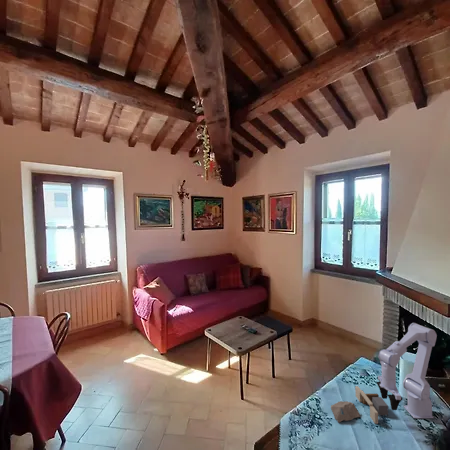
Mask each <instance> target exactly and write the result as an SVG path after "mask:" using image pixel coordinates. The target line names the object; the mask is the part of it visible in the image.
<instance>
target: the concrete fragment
mask: <svg viewBox="0 0 450 450" xmlns="http://www.w3.org/2000/svg"><path fill="white" fill-rule="evenodd" d="M330 409H331V412H332V414H333V418H334V420H336V421H337V423H338V424H339V423H341V422H342V421H347V422H348V421H352V420H353V419H355V418H360V417H361V413H360V411H359V410H358V409H357V407H356V405H355V404H354V403H353V402H351V401H338V402H335V403H333V404H331V406H330Z"/></svg>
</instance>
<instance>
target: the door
mask: <svg viewBox="0 0 450 450" xmlns="http://www.w3.org/2000/svg"><path fill="white" fill-rule="evenodd" d="M365 394H366V396H367V397H368V398H369V400H370V401H371V402H372V397H380V395H379V394H378V393H365ZM361 403H362V404H363V405H369V404H368V403H367V401H366V400H365V399H364V397H363V396H362V402H361Z"/></svg>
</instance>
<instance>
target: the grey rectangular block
mask: <svg viewBox="0 0 450 450" xmlns="http://www.w3.org/2000/svg"><path fill="white" fill-rule="evenodd" d="M372 403H373V407H374V408H375V409H376V411H377V412H378V416H389V405H388V404H387V402H386V401H385V400H384V399H383V398H382V396H379V397H372Z"/></svg>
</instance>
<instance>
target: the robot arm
mask: <svg viewBox="0 0 450 450" xmlns="http://www.w3.org/2000/svg"><path fill="white" fill-rule="evenodd" d="M437 336H438V335H437V332H436V331H435V329H432V328H429V327H427V326H423V325H420V324H418V323H416V322H412V323H410V324H409V325H408V328H407V332H406V333H405V335H404V336H403V337H402V338H401V339H400V340H398V341H397V340H396V341H394V342H393V343H392V344H391V345H389V346H388V347H387V348H386V349H381V350H380V351H378V356H377V358H378V359H379V363H380V365H381V375H378V376H377V380H378V381H376V385H377V386H378V389H379V392H380V397H381V398H382V399H383V400H384V399H386V400H387V399H389V402H390V408H391V410H392V411H398V407H399V404H400V403H401V402H402V401H403V396H402V395H401V394H400V393H399V390H398V387H397V377H396V376H397V375H396V373H397V370H396V369H397V368H396V366H398V364H399V362H400V360H401V357H402V356H403V355H405V353H407V351H408V349H407V348H408V347H409V346H411V345H412V344H413V343H415V342H416V341H417V343H418V346H417V352H416V356H415V359H414V364H413V369H412V372H411V373H407V374H406V375H405V378H404V379H403V381H402V386H403V388H404V389H405V393H406V394H407V405H403V408H404V409H405V410H406V411H407V412H408V413H409V414H410V415H411V416H412V418H414V419H434V416H433V404H432V400H431V399H430V396H431V391H430V390H431V386H430V383H429V382H428V381H427V379H426V375H427V370H428V367H429V361H430V357H431V353H432V350H433V347H435V345H436V342H437V339H438V338H437ZM388 393H390V394H388Z"/></svg>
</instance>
